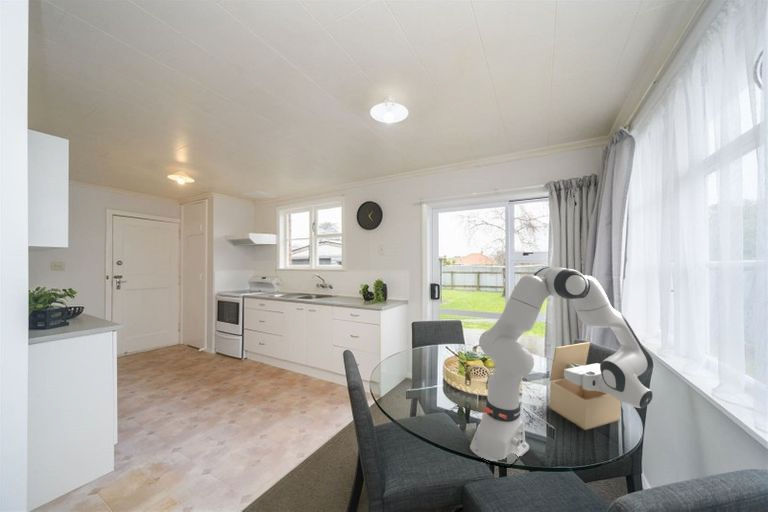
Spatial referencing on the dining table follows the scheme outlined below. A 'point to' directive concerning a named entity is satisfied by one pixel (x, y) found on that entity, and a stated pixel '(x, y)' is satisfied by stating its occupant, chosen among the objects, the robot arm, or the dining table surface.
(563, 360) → the carton flap
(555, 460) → the dining table surface
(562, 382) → the carton
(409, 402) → the dining table surface
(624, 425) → the dining table surface
